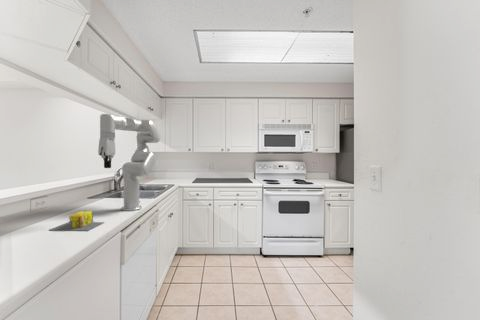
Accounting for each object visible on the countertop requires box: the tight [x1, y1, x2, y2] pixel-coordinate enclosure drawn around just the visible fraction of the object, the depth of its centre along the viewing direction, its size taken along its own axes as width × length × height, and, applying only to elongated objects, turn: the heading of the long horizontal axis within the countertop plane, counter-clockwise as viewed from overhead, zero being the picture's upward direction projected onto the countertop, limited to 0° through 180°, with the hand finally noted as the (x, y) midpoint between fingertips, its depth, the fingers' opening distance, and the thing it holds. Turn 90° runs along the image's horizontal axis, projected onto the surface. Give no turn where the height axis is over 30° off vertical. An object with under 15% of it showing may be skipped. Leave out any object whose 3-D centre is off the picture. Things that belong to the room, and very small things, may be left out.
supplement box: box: [69, 210, 94, 228], centre depth 127 cm, size 6×6×11 cm
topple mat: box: [49, 221, 105, 232], centre depth 125 cm, size 14×19×1 cm
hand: (107, 167), depth 141 cm, fingers closed
